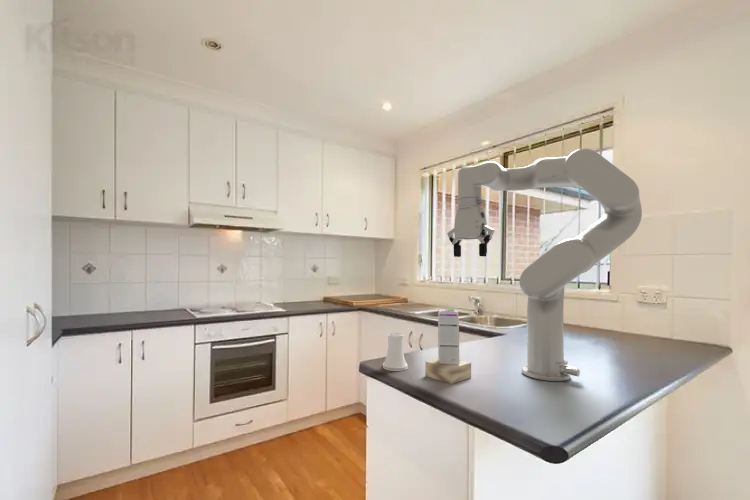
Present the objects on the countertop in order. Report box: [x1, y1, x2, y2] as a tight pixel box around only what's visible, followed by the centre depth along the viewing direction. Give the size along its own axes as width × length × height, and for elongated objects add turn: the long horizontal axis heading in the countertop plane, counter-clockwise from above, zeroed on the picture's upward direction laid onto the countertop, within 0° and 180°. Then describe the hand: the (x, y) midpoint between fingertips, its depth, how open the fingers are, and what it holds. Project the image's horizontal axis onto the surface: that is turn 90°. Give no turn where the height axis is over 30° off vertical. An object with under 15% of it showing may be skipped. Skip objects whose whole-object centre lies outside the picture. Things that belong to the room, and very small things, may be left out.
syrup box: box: [437, 308, 460, 365], centre depth 102 cm, size 6×6×14 cm
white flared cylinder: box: [382, 332, 409, 372], centre depth 110 cm, size 8×8×10 cm
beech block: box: [424, 357, 472, 385], centre depth 102 cm, size 9×9×4 cm
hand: (469, 256), depth 119 cm, fingers open, 9 cm apart
